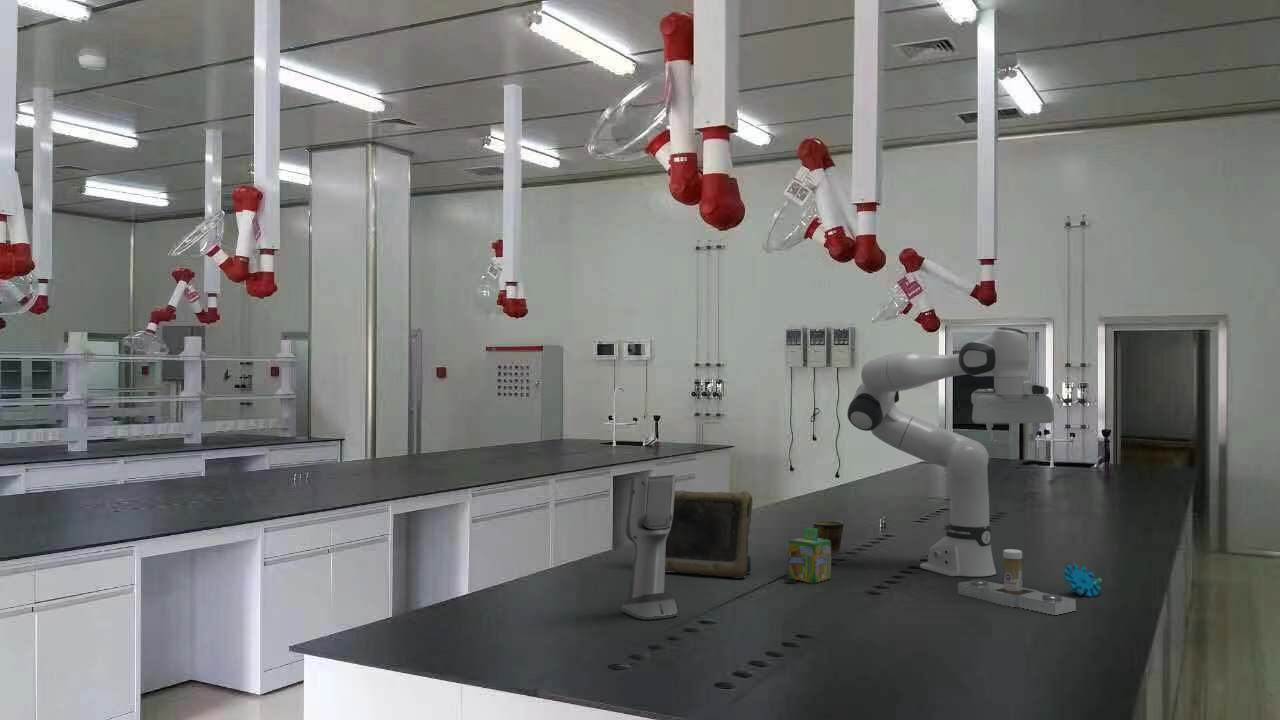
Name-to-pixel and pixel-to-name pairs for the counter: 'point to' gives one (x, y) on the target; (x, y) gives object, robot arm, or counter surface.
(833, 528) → the brown tapered cylinder
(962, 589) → the grey long flat block
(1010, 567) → the sprinkles bottle
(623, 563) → the counter surface
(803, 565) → the chalk box
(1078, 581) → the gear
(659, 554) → the thermal camera
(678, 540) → the brown frame
